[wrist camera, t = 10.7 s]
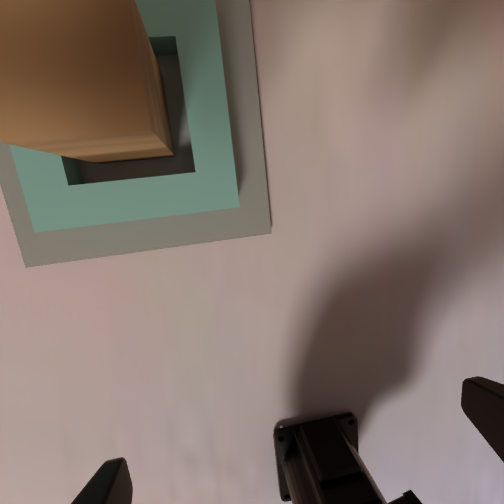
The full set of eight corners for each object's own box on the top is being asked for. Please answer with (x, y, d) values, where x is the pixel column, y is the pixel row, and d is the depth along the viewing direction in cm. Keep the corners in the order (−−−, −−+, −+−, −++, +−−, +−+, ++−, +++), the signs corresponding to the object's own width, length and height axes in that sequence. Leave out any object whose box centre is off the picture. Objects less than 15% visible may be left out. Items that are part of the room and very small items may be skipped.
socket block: (269, 232, 19) (279, 239, 16) (30, 265, 17) (1, 278, 14) (244, -32, 15) (252, -72, 13) (-57, -28, 13) (-114, -74, 11)
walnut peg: (175, 156, 16) (151, 130, 9) (99, 163, 16) (1, 142, 8) (162, 76, 15) (122, -34, 8) (81, 81, 15) (-50, -32, 7)
